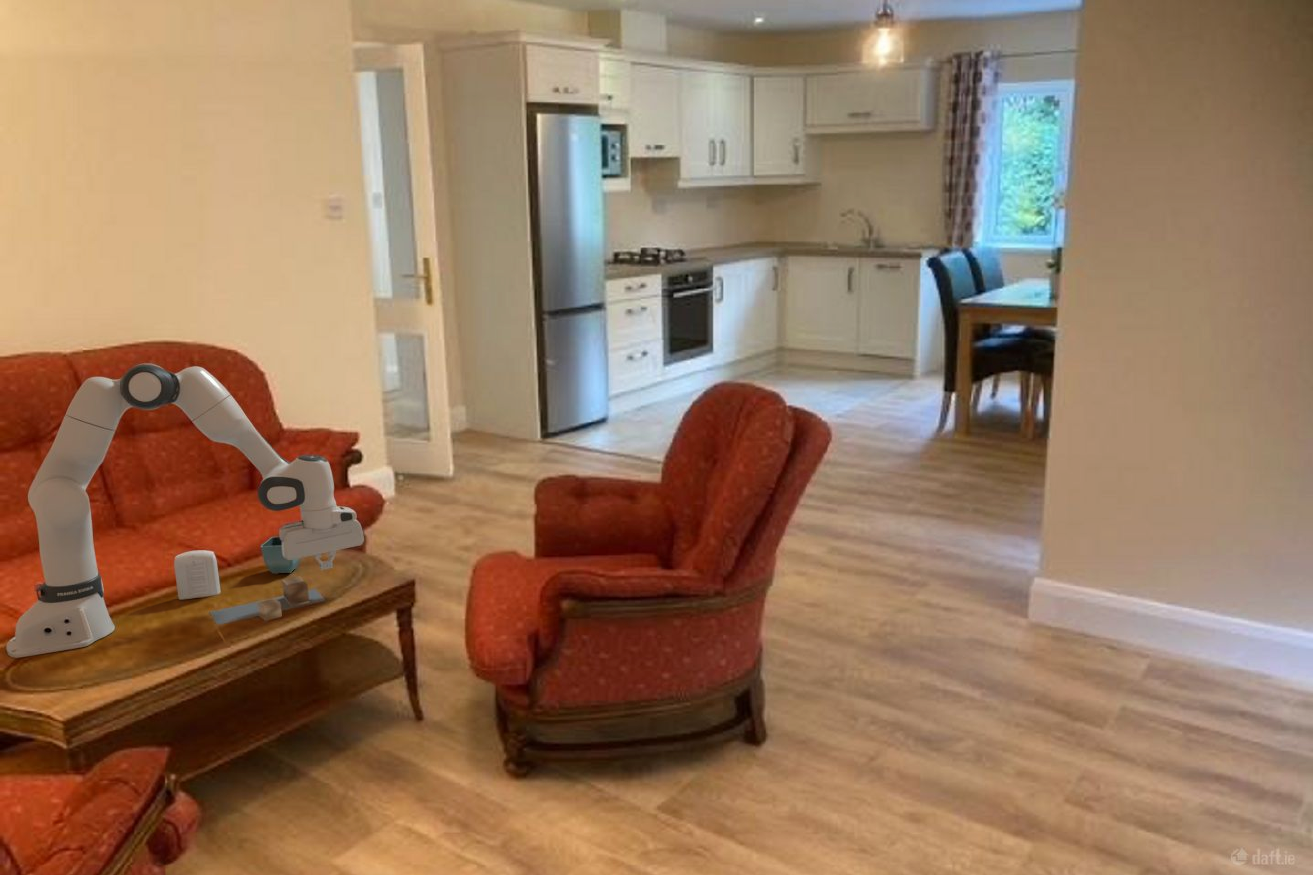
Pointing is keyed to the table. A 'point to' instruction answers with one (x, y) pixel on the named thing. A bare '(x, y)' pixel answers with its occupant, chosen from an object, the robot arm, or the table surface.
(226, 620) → the mat
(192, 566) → the white upright rounded block
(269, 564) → the flower pot
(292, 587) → the walnut block
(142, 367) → the robot arm
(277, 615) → the maple cube
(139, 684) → the table surface
